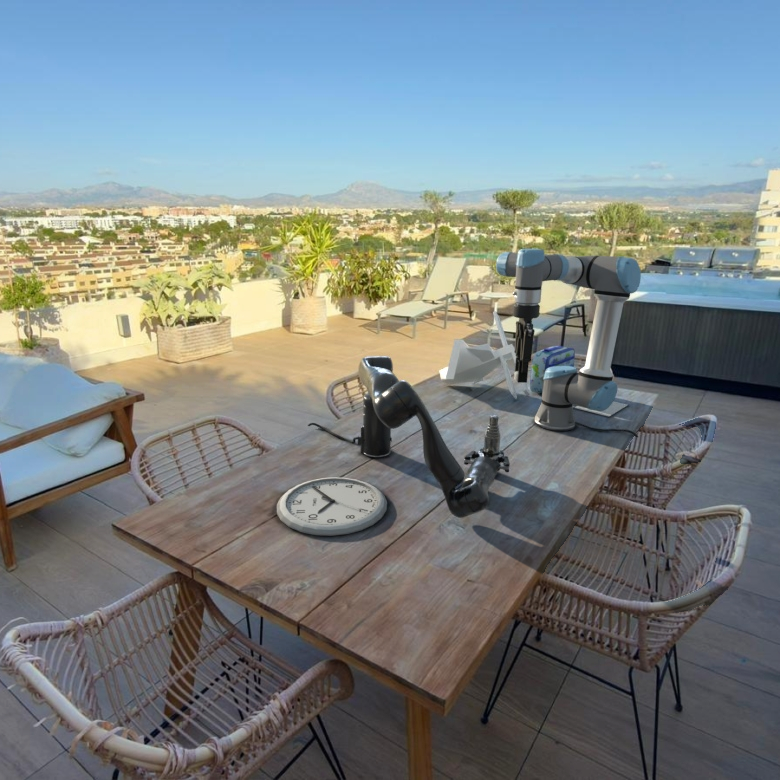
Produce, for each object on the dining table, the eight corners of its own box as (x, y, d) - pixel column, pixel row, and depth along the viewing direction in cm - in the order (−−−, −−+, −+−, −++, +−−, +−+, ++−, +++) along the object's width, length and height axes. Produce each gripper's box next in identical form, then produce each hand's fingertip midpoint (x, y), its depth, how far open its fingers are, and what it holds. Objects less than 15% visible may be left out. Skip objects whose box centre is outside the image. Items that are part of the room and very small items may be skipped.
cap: (523, 377, 162) (524, 370, 162) (529, 381, 159) (529, 374, 158) (511, 378, 162) (512, 371, 161) (517, 381, 158) (517, 374, 157)
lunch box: (546, 399, 235) (551, 353, 228) (525, 393, 242) (530, 349, 236) (574, 387, 252) (579, 345, 246) (553, 383, 260) (558, 341, 253)
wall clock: (392, 527, 129) (268, 531, 127) (391, 533, 130) (269, 537, 127) (383, 473, 158) (282, 475, 155) (383, 478, 158) (282, 480, 156)
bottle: (498, 476, 161) (503, 418, 156) (483, 476, 161) (487, 418, 156) (495, 469, 166) (500, 413, 160) (480, 469, 166) (485, 413, 160)
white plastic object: (461, 429, 252) (437, 405, 227) (444, 352, 274) (420, 323, 250) (535, 404, 240) (518, 377, 215) (510, 326, 262) (492, 293, 237)
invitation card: (608, 416, 214) (573, 407, 224) (608, 416, 214) (573, 408, 224) (628, 404, 229) (594, 396, 238) (628, 405, 229) (594, 397, 238)
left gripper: (507, 466, 145) (516, 444, 160) (457, 457, 150) (471, 437, 165) (505, 490, 148) (514, 466, 163) (456, 481, 152) (469, 458, 168)
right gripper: (508, 299, 161) (503, 372, 168) (520, 308, 145) (513, 388, 152) (532, 299, 161) (526, 372, 168) (547, 308, 145) (539, 388, 152)
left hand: (492, 451), depth 164 cm, fingers closed on bottle, 4 cm apart
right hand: (520, 379), depth 160 cm, fingers closed on cap, 4 cm apart
